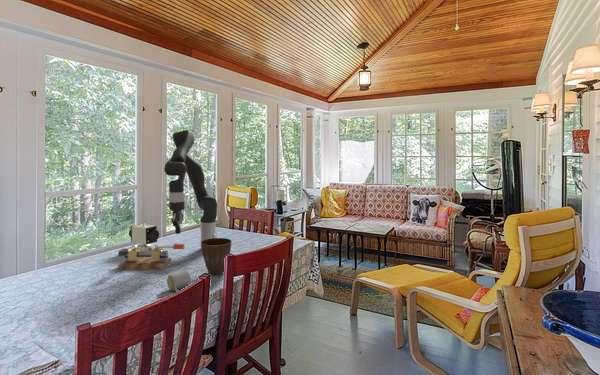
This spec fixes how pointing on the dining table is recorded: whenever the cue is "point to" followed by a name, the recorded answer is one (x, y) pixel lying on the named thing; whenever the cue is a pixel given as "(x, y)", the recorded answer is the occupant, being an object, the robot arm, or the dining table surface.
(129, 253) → the pipe manifold
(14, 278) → the dining table surface
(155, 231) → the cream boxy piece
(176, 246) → the red lever
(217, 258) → the plant pot
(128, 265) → the base board
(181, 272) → the ceramic mug
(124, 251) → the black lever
